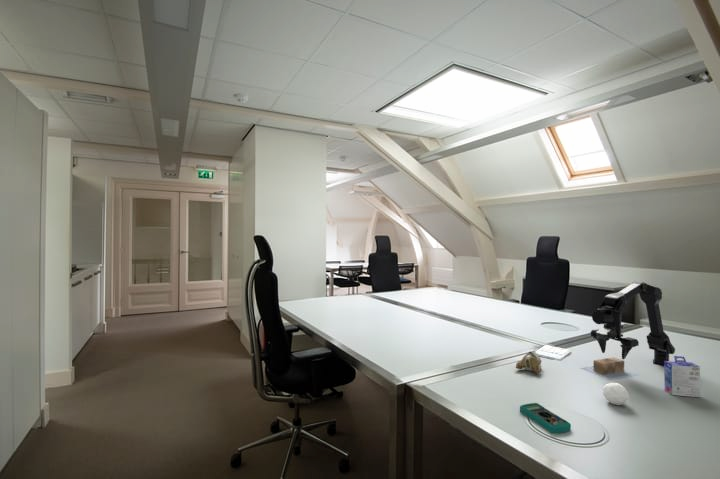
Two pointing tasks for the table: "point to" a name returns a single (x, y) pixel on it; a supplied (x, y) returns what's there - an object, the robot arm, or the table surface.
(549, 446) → the table surface
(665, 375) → the ink cartridge box
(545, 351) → the calculator
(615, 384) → the geometric ball
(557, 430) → the digital multimeter
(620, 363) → the walnut block
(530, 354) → the ceramic sculpture
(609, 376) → the desk pad
